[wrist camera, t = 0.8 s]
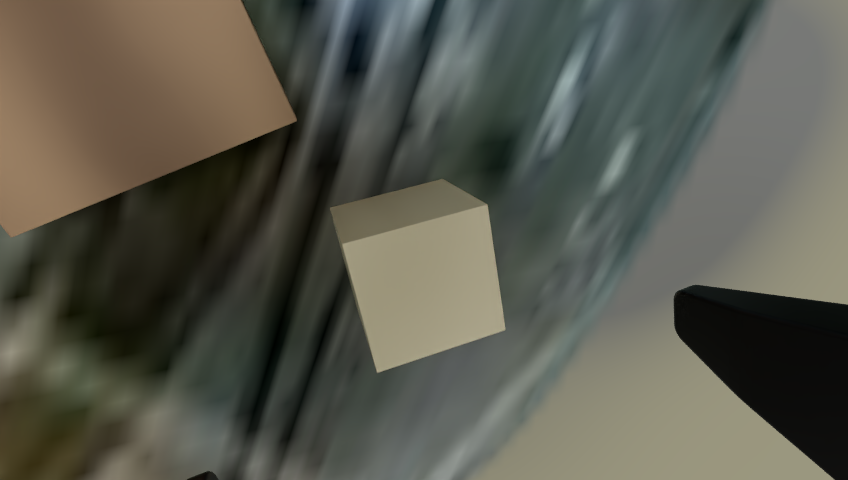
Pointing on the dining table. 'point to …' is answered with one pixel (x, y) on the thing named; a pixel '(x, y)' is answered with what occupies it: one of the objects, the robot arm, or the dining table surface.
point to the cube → (420, 270)
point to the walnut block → (122, 97)
